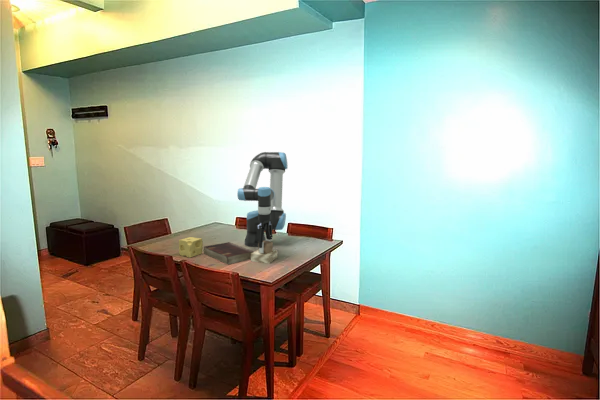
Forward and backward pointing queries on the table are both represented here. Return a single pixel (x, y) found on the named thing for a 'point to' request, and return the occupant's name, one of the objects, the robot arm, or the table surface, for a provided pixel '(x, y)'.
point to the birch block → (263, 256)
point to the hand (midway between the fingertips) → (264, 251)
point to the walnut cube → (268, 247)
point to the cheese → (190, 246)
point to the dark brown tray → (228, 252)
